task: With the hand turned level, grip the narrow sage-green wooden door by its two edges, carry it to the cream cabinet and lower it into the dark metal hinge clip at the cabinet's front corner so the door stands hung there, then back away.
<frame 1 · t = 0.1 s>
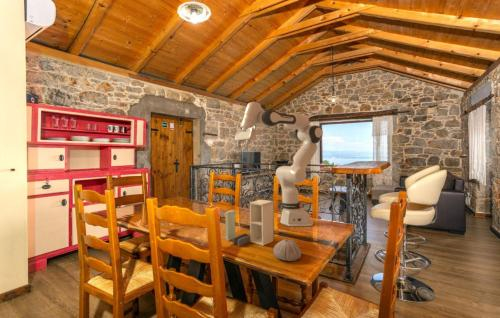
hand: (241, 147, 155), 52 cm above the table, tool tilted 20°, fingers open, 8 cm apart
wall hook: (216, 217, 191), on the table
sea urchin shell: (287, 257, 120), on the table
cabinet: (242, 242, 138), on the table
door: (230, 239, 144), on the table
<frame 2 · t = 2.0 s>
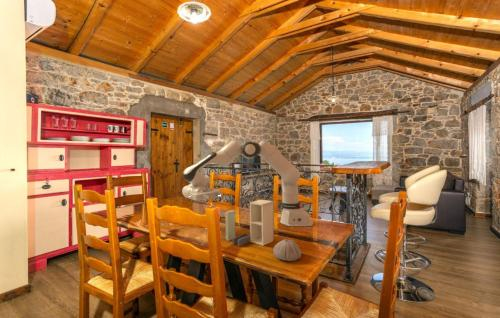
hand: (215, 196, 151), 23 cm above the table, tool horizontal, fingers open, 8 cm apart
nothing on the table moved.
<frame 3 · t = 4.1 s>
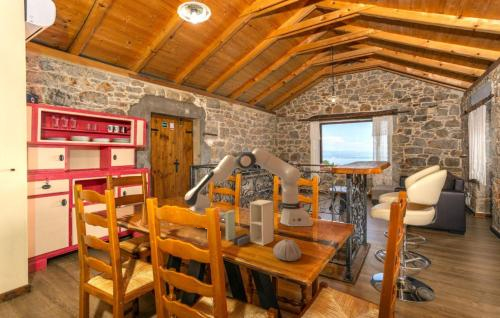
hand: (219, 221, 150), 9 cm above the table, tool horizontal, fingers open, 8 cm apart
nothing on the table moved.
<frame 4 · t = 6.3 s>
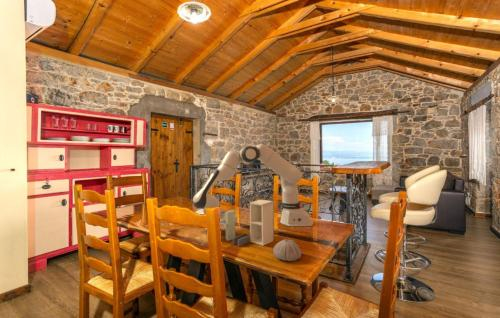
hand: (231, 224, 143), 9 cm above the table, tool horizontal, fingers closed on door, 6 cm apart
door: (230, 239, 144), on the table, touching gripper
everything else where it was.
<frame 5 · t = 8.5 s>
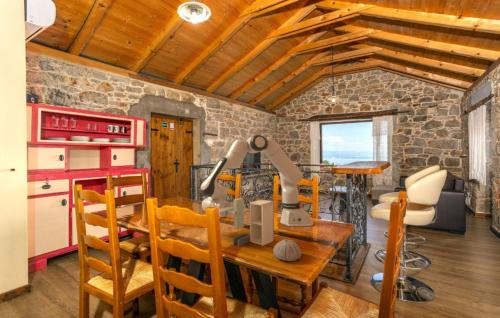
hand: (240, 212, 139), 17 cm above the table, tool horizontal, fingers closed on door, 6 cm apart
door: (239, 227, 140), point 8 cm above the table, touching gripper
everything else where it was.
when the fingers open (10 cm above the table, at t = 10.9 s): door stays where it is, resting in cabinet.
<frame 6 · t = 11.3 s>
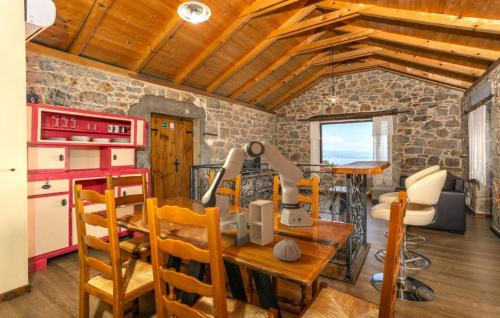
hand: (243, 225, 137), 10 cm above the table, tool horizontal, fingers open, 8 cm apart
door: (242, 242, 138), resting in cabinet
everything else where it was.
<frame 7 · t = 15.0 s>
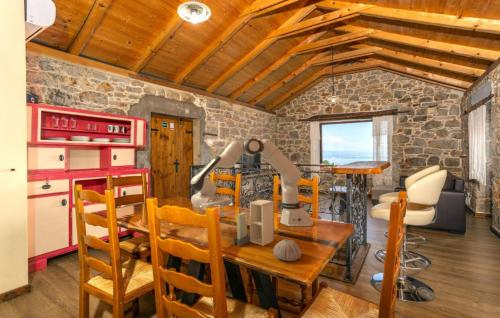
hand: (226, 205, 146), 19 cm above the table, tool horizontal, fingers open, 8 cm apart
nothing on the table moved.
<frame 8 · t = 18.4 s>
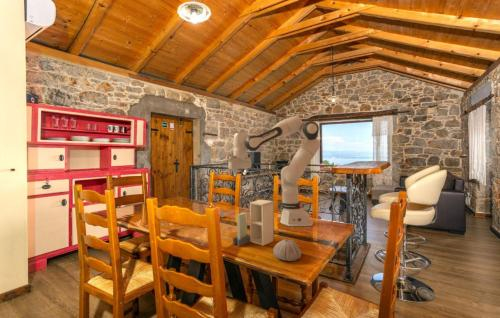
hand: (240, 175, 175), 33 cm above the table, tool pointing down, fingers open, 8 cm apart
nothing on the table moved.
at the end: door 0.1 cm off-centre on the cabinet, point 0.0 cm above the cabinet's base; door tilted 0°; the gripper is holding nothing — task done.
